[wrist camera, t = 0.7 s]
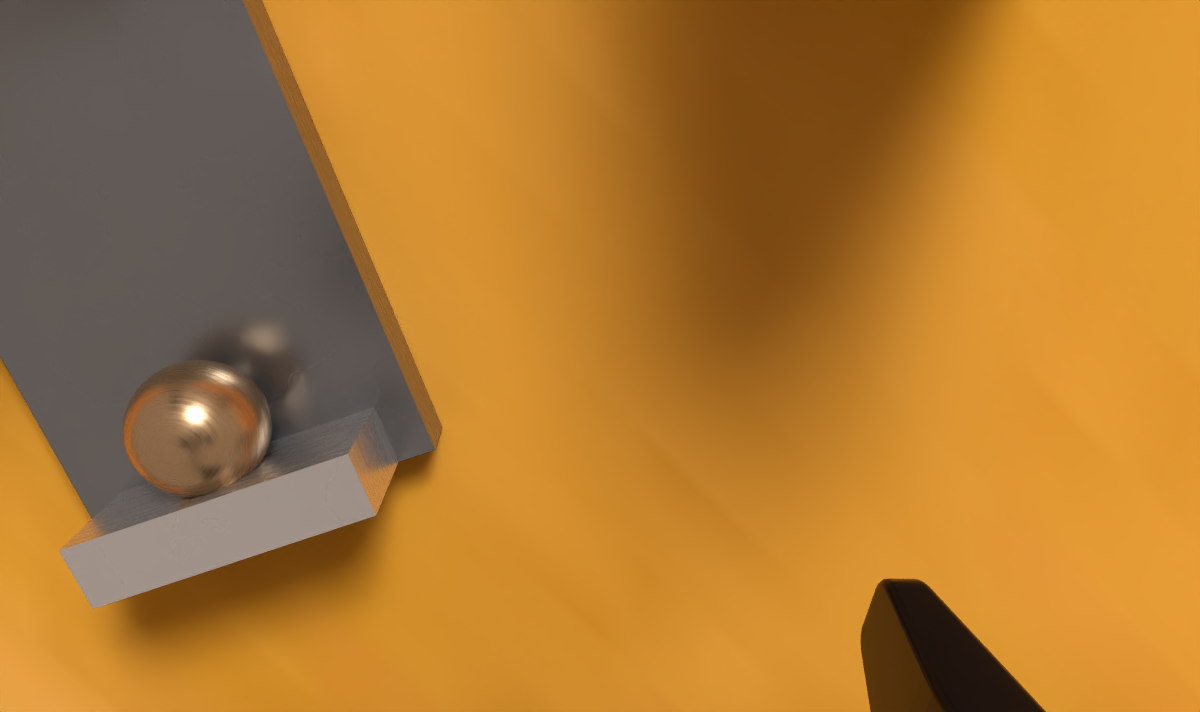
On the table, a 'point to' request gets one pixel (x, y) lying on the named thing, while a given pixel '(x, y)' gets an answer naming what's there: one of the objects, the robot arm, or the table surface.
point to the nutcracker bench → (189, 291)
